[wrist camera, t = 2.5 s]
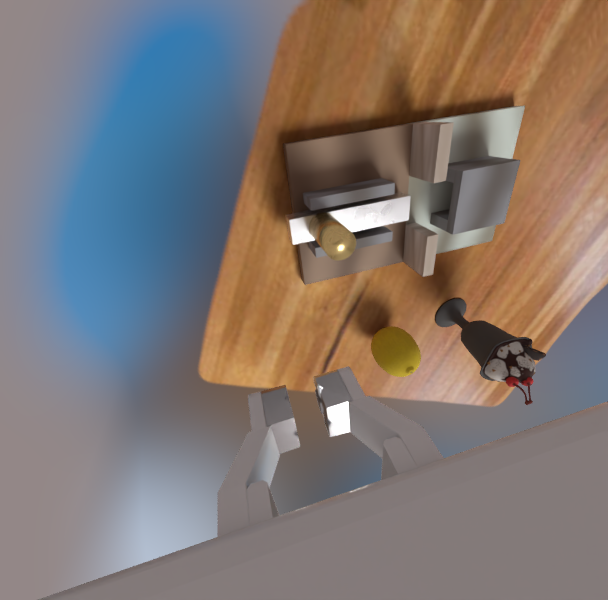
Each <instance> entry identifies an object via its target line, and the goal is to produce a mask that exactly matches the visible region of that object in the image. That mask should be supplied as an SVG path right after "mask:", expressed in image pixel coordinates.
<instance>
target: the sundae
mask: <svg viewBox="0 0 608 600" xmlns="http://www.w3.org/2000/svg"><path fill="white" fill-rule="evenodd" d="M465 311H466V303H465V301H464V300H462V299H452V300H449V301H447V302H446V303H445V304H443V305H442V306H441V307H440V309H439V310H438V312H437V314H436V319H435V320H436V323H437V325H438V326H440V327H449V326H452V325H454V324H458V325H459V326H460V327H461V328H462V332H461V341H462V342H463V344H464V345H465V347H466V348H467V349H468V351H469V352H470V353H471V354H472V355H473V357H474V358H475V359H476V360H477V361H478V363H479V364H480V366H481V371H480V374H481V376H482V377H483V378H485V379H487V380H491V381H495V380H496V381H498V382H500V381H503V382H506V383H507V385H508V386H510V387H514V386H516V387H519V386H518V383H519V382H520V383H522V385H525V386H528V393H529V401H527V397H526V394H525V392H524V390H523V389H522V388H521V387H519V388H520V389H521V390H522V391H523V393H524V394H525V399H526V401H525V404H526V405H528V404H531V403H532V401H531V398H530V385H532V383H533V379H532V376H533V375H534V374H535V362H534V361H533V360H538V361H539V360H540V359H542V358H544V357H545V356H546V354H545V353H543V352H540V351H538V350H535V349H533V348H532V345H531V344H532V340H531V339H529V338H527V337H519V338H517V337H514V336H512V335H510V334H508V333H506V332H505V331H503V330H501V329H499V328H498V327H496V326H494V325H492V324H490V323H487V322H485V321H473V322H470V323H469V322H468V321H467V320H465V319H464V318H463V315H464V313H465Z"/></svg>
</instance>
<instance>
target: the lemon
mask: <svg viewBox="0 0 608 600" xmlns="http://www.w3.org/2000/svg"><path fill="white" fill-rule="evenodd" d="M371 350H372V354H373V356H374V358H375V360H376V362H377V363H378V365H379V366H380V367H381V368H382V369H383V370H385V371H386V372H387V373H389V374H391V375H393V376H397V377H404V376H408V375H410V374H412V373H413V372H415V371H416V369H417V368H418V366H419V364H420V360H421V355H420V350H419V348H418V345H417V344H416V342H415V340H414V339H413V338H412V336H411V335H410V334H408V333H407V332H406V331H404V330H403V329H401V328H398V327H385V328H382V329H380V330H379V331H378V332H377V333H376V334H375V335H374V337H373V339H372V343H371Z"/></svg>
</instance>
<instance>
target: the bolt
mask: <svg viewBox="0 0 608 600" xmlns="http://www.w3.org/2000/svg"><path fill="white" fill-rule="evenodd" d="M410 198H411V196H410V195H407V194H405V193H402V192H398V193H394V194H393V195H388V196H383V197H378V198H373V199H368V200H363V201H358V202H353V203H348V204H342V205H337V206H332V207H327V208H322V209H317V210H312V211H311V210H306V211H301V212H296V213H291V214H286V215H285V216H286V222H287V229H288V235H289V239H290V241H291V243H292V244H293V245H295V244H300V243H304V242H309V241H314V240H316V242H317V243H318V244H319V245H320V247H321V248H322V249H323V250H324V251H325V253H326V254H327V255H328V256H329V257H330V258H331V259H333V260H337V261H339V260H344V259H346V258H348V257H349V256H350V255H351V254H352V253H353V252H354V250H355V247H356V238H355V236H354V234H353V233H352V232H356V231H361V230H365V229H370V228H375V227H379V226H384V225H389V224H393V223H398V222H403V221H407V220H409V210H410Z"/></svg>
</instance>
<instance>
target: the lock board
mask: <svg viewBox="0 0 608 600" xmlns="http://www.w3.org/2000/svg"><path fill="white" fill-rule="evenodd" d="M524 108H525V106H513V107H506V108H500V109H494V110H488V111H482V112H475V113H469V114H463V115H457V116H451V117H444V118H438V119H432V120H426V121H420V122H413V123H407V124H401V125H395V126H389V127H382V128H376V129H370V130H364V131H358V132H351V133H345V134H339V135H333V136H326V137H320V138H314V139H308V140H302V141H295V142H289V143H283V148H284V155H285V162H286V169H287V176H288V183H289V190H290V197H291V204H292V211H293V213H296V212H301V211H306V210H311V211H312V210H317V209H322V208H327V207H332V206H337V205H342V204H348V203H353V202H358V201H363V200H368V199H373V198H378V197H383V196H388V195H393V194H394V193H398V192H402V193H405V194H407V195H410V196H411V198H410V210H409V220H407V221H403V222H398V223H393V224H389V225H384V226H379V227H375V228H370V229H365V230H361V231H356V232H352V233H353V234H354V236H355V238H356V247H355V250H354V252H353V253H352V254H351V255H350V256H349V257H348V258H346V259H344V260H339V261H337V260H333V259H331V258H330V257H329V256H328V255H327V254H326V253H325V251H324V250H323V249H322V248H321V247H320V245H319V244H318V243H317V242H316V240H314V241H309V242H304V243H300V244H297V247H298V254H299V261H300V268H301V275H302V281H303V282H304V284H305V285H306V284H311V283H315V282H319V281H323V280H328V279H332V278H336V277H340V276H345V275H349V274H353V273H357V272H362V271H366V270H370V269H374V268H379V267H383V266H387V265H391V264H396V263H400V262H404V263H405V264H407V265H408V266H409V267H411V268H412V269H413V270H415V271H416V272H417V273H418V274H420V275H421V276H422V277H424V276H429V275H433V271H434V264H435V256H436V254H438V253H442V252H447V251H451V250H455V249H459V248H464V247H468V246H472V245H477V244H481V243H485V242H489V241H492V239H493V235H494V231H495V227H496V225H498V224H502V223H504V221H505V218H506V214H507V210H508V206H509V202H510V198H511V195H512V191H513V187H514V183H515V179H516V175H517V171H518V168H519V164H520V160H516V159H512V157H513V153H514V149H515V145H516V141H517V137H518V133H519V129H520V124H521V120H522V116H523V112H524Z"/></svg>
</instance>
